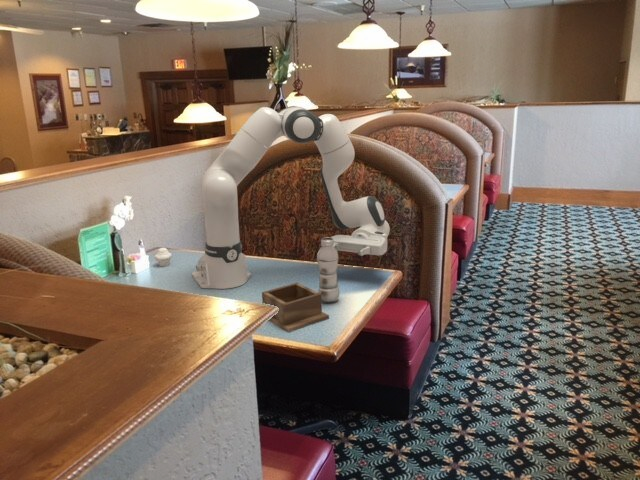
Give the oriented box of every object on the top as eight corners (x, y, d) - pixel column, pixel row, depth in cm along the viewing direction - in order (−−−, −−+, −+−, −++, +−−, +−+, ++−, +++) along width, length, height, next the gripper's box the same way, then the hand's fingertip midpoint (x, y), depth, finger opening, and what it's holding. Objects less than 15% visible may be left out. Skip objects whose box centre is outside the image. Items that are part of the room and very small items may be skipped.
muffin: (172, 261, 210) (170, 244, 208) (172, 266, 205) (170, 249, 203) (155, 263, 209) (153, 246, 207) (155, 268, 203) (153, 250, 201)
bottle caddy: (256, 312, 162) (255, 290, 160) (295, 300, 170) (295, 279, 168) (288, 332, 149) (287, 308, 147) (328, 318, 156) (328, 295, 154)
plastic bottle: (337, 305, 165) (336, 242, 160) (316, 304, 167) (314, 241, 161) (341, 297, 171) (340, 236, 166) (320, 296, 173) (318, 235, 167)
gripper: (336, 228, 191) (317, 238, 180) (391, 234, 182) (375, 245, 170) (337, 245, 193) (318, 257, 182) (391, 252, 184) (375, 264, 172)
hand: (346, 251), depth 176 cm, fingers open, 8 cm apart
